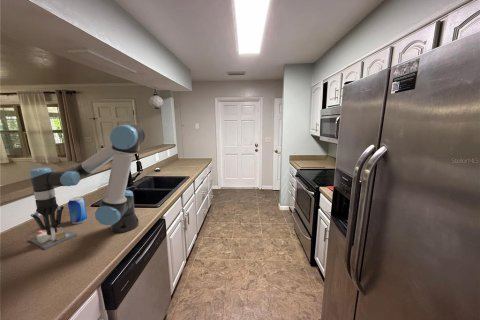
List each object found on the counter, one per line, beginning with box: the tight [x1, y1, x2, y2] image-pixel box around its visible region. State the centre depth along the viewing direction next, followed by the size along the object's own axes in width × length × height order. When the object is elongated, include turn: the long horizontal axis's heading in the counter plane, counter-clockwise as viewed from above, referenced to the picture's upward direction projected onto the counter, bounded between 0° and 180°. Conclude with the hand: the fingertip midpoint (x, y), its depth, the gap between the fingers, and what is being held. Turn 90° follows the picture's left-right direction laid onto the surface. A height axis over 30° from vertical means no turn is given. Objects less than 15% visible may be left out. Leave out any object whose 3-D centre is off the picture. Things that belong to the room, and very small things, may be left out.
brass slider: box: [55, 230, 66, 241], centre depth 109 cm, size 4×4×4 cm
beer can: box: [67, 196, 88, 225], centre depth 128 cm, size 8×8×16 cm
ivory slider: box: [36, 232, 51, 243], centre depth 107 cm, size 4×4×4 cm
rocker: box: [36, 229, 59, 235], centre depth 112 cm, size 5×8×1 cm, turn 155°
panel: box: [28, 226, 78, 250], centre depth 111 cm, size 18×14×2 cm
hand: (53, 239), depth 106 cm, fingers closed
